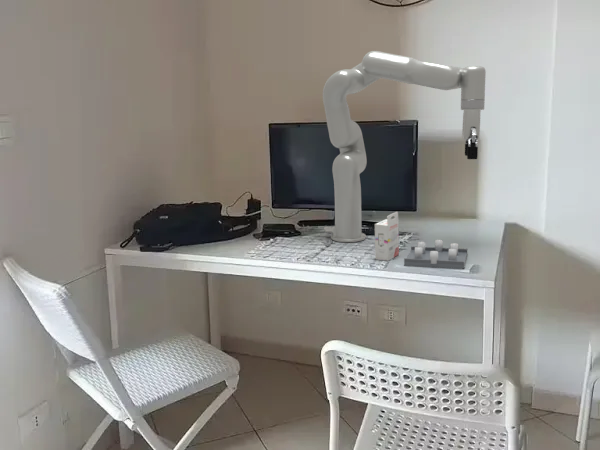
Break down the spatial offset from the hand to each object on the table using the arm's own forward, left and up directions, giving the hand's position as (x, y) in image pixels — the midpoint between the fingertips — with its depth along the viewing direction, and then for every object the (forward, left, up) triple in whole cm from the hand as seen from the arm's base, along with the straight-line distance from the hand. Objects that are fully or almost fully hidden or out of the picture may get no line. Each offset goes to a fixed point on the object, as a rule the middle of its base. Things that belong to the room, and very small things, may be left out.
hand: (470, 157), depth 220 cm
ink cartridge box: (-25, -20, -31) cm, 44 cm away
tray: (-9, -21, -30) cm, 38 cm away
